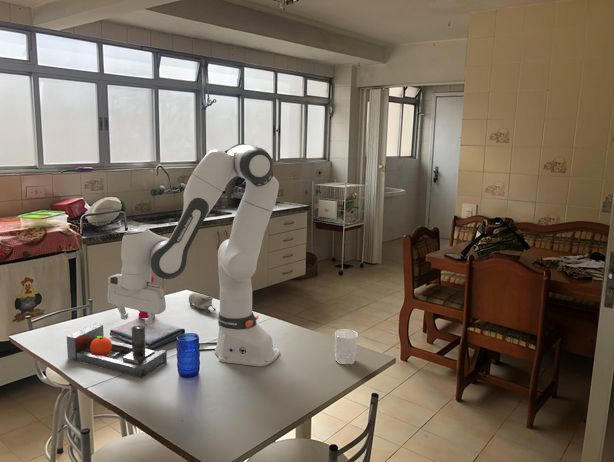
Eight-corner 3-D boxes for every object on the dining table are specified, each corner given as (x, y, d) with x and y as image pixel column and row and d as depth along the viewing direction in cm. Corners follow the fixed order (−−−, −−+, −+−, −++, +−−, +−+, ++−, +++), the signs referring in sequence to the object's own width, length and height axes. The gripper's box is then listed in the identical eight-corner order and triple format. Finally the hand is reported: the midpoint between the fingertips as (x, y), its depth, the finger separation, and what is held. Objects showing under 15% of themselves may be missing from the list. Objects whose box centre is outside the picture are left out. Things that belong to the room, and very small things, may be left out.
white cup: (339, 354, 178) (341, 327, 176) (360, 359, 174) (362, 332, 172) (329, 362, 171) (330, 334, 169) (350, 368, 167) (351, 340, 165)
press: (166, 362, 167) (166, 339, 165) (141, 378, 155) (140, 354, 154) (96, 344, 177) (95, 323, 176) (67, 358, 166) (66, 336, 164)
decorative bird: (195, 303, 223) (195, 287, 222) (218, 312, 213) (218, 296, 212) (185, 305, 219) (184, 289, 218) (207, 316, 209) (207, 298, 208)
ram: (155, 362, 166) (154, 325, 163) (138, 372, 158) (137, 333, 156) (140, 358, 168) (139, 321, 165) (123, 368, 160) (121, 330, 158)
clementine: (85, 355, 169) (84, 335, 168) (106, 349, 174) (105, 330, 173) (95, 363, 164) (94, 343, 162) (116, 357, 168) (115, 337, 167)
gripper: (170, 282, 157) (169, 324, 159) (118, 272, 164) (118, 312, 166) (157, 288, 151) (156, 331, 153) (103, 277, 158) (104, 318, 161)
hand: (136, 321), depth 160 cm, fingers open, 8 cm apart
